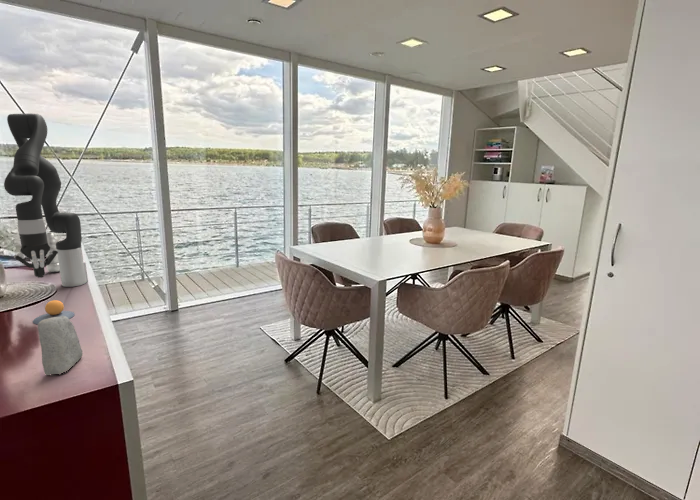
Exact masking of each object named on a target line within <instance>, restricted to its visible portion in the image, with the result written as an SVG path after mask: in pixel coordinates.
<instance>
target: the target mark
mask: <svg viewBox="0 0 700 500" xmlns="http://www.w3.org/2000/svg"><path fill="white" fill-rule="evenodd" d="M75 315H76V314H75V312H74V311H70V310H63V311H62V312H61V313H60V314H57V315H50V314H48V313H43V314H42V315H39V316H37V317H36V318H34V319H33V320H32V323H33V324H35V325H38V323H39V322H40V321H42V320H44V319H48V318H53V317H60V316H66V317H67V318H68V319H69V320H70V319H72V318H73V317H74V316H75Z"/></svg>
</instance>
